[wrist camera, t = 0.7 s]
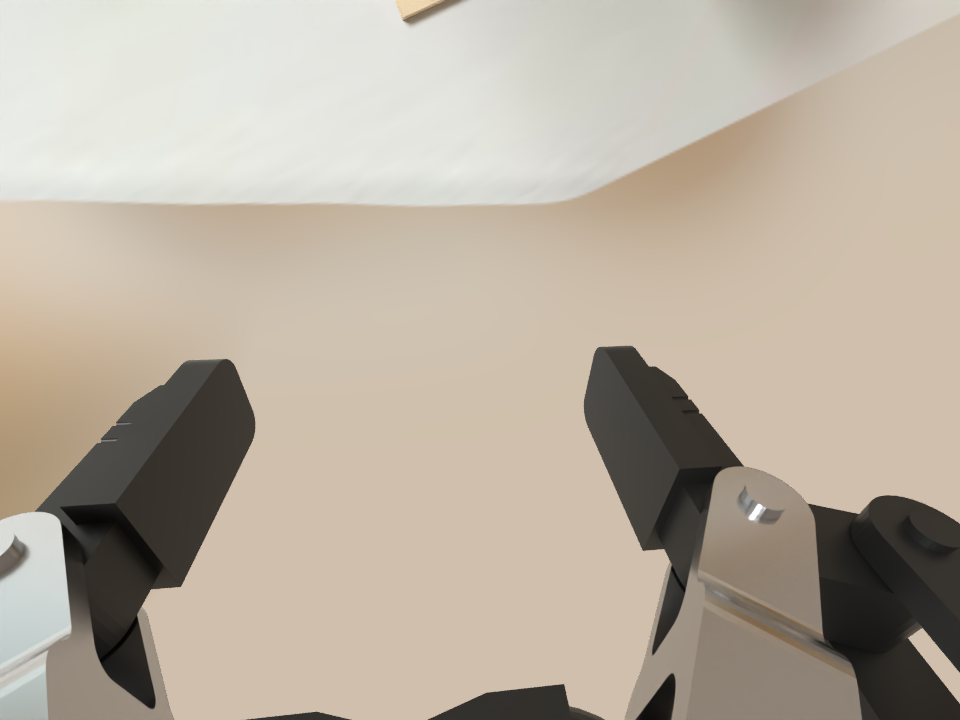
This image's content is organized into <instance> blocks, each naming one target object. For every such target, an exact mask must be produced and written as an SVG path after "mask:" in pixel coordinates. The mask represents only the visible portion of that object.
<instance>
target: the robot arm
mask: <svg viewBox="0 0 960 720" xmlns="http://www.w3.org/2000/svg"><path fill="white" fill-rule="evenodd" d="M584 413H585V419H586V422H587V425H588V428H589V430H590V432H591V434H592V437H593V439H594V441H595V443H596V445H597V448H598V450H599V453H600V455H601V457H602V459H603V462H604V464H605V466H606V468H607V470H608V473H609V475H610V477H611V480H612V482H613V484H614V486H615V489H616V491H617V493H618V495H619V498H620V500H621V502H622V504H623V507H624V509H625V511H626V513H627V516H628V518H629V520H630V523H631V525H632V527H633V529H634V531H635V534H636V536H637V538H638V541H639V543H640V545H641V547H642V550H643V551H645V550H657V549H665V551H666V553H667V555H668V557H669V560H670V563H669V565H668V568H667V570H666V574H665V578H664V582H663V586H662V590H661V594H660V598H659V602H658V606H657V610H656V614H655V619H654V623H653V627H652V631H651V636H650V639H649V644H648V647H647V651H646V655H645V659H644V663H643V666H642V669H641V672H640V675H639V677H638V680H637V682H636V685H635V688H634V690H633V693H632V696H631V699H630V702H629V705H628V709H627V712H626V716H625V720H960V704H959V702H958V701H957V700H956V699H955V697H954V696H953V695H952V694H951V692H950V691H949V690H948V688H947V687H946V686H945V685H944V683H943V682H942V681H941V680H940V678H939V677H938V676H937V675H936V674H935V672H934V671H933V670H932V668H931V667H930V666H929V664H928V663H927V662H926V661H925V659H924V658H923V657H922V656H921V655H920V653H919V652H918V651H917V649H916V648H915V647H914V645H913V644H912V643H911V642H910V641H909V639H908V637H910V636H911V635H913V634H914V633H915V632H917V631H918V630H920V629H921V628H923V629H924V630H925V631H926V632H927V633H928V635H929V636H930V637H931V638H932V640H933V641H934V642H935V643H936V644H937V646H938V647H939V648H940V649H941V650H942V652H943V653H944V654H945V655H946V657H947V658H948V659H949V660H950V661H951V662H952V664H953V665H954V666H955V667H956V668H957V670H958V671H959V672H960V524H959V523H958V522H956V521H955V520H954V519H952V518H950V517H948V516H947V515H945V514H944V513H942V512H940V511H938V510H936V509H934V508H932V507H930V506H928V505H925V504H923V503H920V502H918V501H915V500H912V499H908V498H905V497H899V496H889V495H888V496H880V497H877V498H875V499H873V500H872V501H871V502H870V503H869V504H868V505H867V506H866V508H864V510H863V511H862V512H861V513H860V514H856V513H851V512H846V511H841V510H836V509H831V508H826V507H821V506H816V505H812V504H807V503H806V501H805V500H804V499H803V498H802V496H801V495H799V494H798V493H797V492H796V491H795V490H794V489H793V488H792V487H790V486H789V485H788V484H786V483H785V482H783V481H782V480H780V479H778V478H776V477H775V476H773V475H770V474H768V473H766V472H764V471H760V470H757V469H754V468H749V467H744V466H743V465H742V463H741V462H740V461H739V460H738V458H737V457H736V456H735V455H734V453H733V452H732V451H731V450H730V448H729V447H728V446H727V444H726V443H725V442H724V441H723V439H722V438H721V437H720V436H719V434H718V433H717V432H716V431H715V430H714V428H713V427H712V426H711V424H710V423H709V422H708V421H707V419H706V418H705V417H704V416H703V415H702V414H699V410H698V408H697V407H696V406H695V404H694V403H693V402H692V401H691V400H688V396H687V394H686V393H685V392H684V390H683V389H682V388H681V387H680V385H679V384H678V383H677V382H676V380H674V379H673V378H672V377H670V376H669V375H667V374H666V373H664V372H663V371H661V370H660V369H658V368H657V367H649V366H648V365H647V364H646V362H645V361H644V360H643V358H642V357H641V356H640V354H639V353H638V352H637V350H636V349H635V348H634V347H633V346H615V347H599V348H597V350H596V351H595V354H594V358H593V363H592V367H591V371H590V376H589V381H588V385H587V390H586V394H585V399H584ZM116 423H117V425H116V426H112V427H111V428H110V430H109V431H108V432H107V433H106V434H105V435H104V436H103V437H102V438H101V443H97V444H96V445H95V446H94V447H93V448H92V449H91V451H90V452H89V453H88V454H87V455H86V456H85V457H84V458H83V459H82V461H81V462H80V463H79V464H78V465H77V466H76V467H75V468H74V469H73V470H72V471H71V473H70V474H69V475H68V476H67V477H66V478H65V479H64V480H63V481H62V482H61V484H60V485H59V486H58V487H57V488H56V489H55V490H54V491H53V492H52V493H51V495H50V496H49V497H48V498H47V499H46V500H45V501H44V502H43V503H42V504H41V506H40V507H39V508H38V509H37V510H36V511H35V512H29V513H23V514H18V515H15V516H11V517H8V518H5V519H2V520H0V720H174V718H173V715H172V713H171V710H170V706H169V702H168V698H167V694H166V690H165V686H164V682H163V677H162V674H161V669H160V665H159V661H158V657H157V653H156V649H155V644H154V640H153V636H152V632H151V628H150V624H149V620H148V616H147V613H146V612H145V610H144V609H143V608H142V607H141V606H142V605H143V603H144V601H145V599H146V597H147V595H148V594H149V592H150V590H151V589H160V588H172V587H181V585H182V584H183V582H184V580H185V577H186V575H187V573H188V571H189V569H190V567H191V565H192V563H193V561H194V559H195V557H196V555H197V553H198V551H199V549H200V547H201V545H202V543H203V541H204V539H205V537H206V535H207V533H208V530H209V528H210V526H211V524H212V522H213V520H214V518H215V516H216V514H217V512H218V510H219V508H220V506H221V504H222V502H223V500H224V498H225V496H226V494H227V492H228V490H229V488H230V486H231V484H232V482H233V480H234V478H235V476H236V473H237V471H238V469H239V467H240V465H241V463H242V461H243V459H244V457H245V455H246V453H247V451H248V449H249V447H250V445H251V443H252V441H253V438H254V433H255V417H254V413H253V410H252V408H251V405H250V403H249V400H248V398H247V395H246V392H245V390H244V387H243V385H242V382H241V380H240V377H239V375H238V372H237V370H236V368H235V366H234V364H233V363H232V362H231V361H230V360H228V359H217V360H189V361H186V362H185V363H183V364H182V365H181V366H180V367H179V369H178V370H177V371H176V372H175V373H174V374H173V375H172V377H171V378H170V379H169V380H168V381H167V382H166V384H165V385H161V386H158V387H157V388H155V389H154V390H152V391H151V392H149V393H148V394H146V395H145V396H144V397H142V398H140V399H139V400H137V401H136V402H134V403H133V404H132V405H131V407H130V408H129V409H128V410H127V411H126V412H125V413H124V414H123V415H122V416H121V417H120V419H119V420H118V421H117V422H116ZM248 720H349V719H345V718H341V717H336V716H332V715H328V714H324V713H320V712H311V713H302V714H294V715H284V716H275V717H266V718H257V719H248ZM428 720H604V719H603V718H601V717H599V716H597V715H594V714H591V713H589V712H586V711H584V710H581V709H578V708H574V707H570V706H569V705H568V700H567V696H566V691H565V686H564V684H562V685H552V686H544V687H534V688H525V689H517V690H507V691H499V692H490V693H485V694H483V695H481V696H478V697H476V698H474V699H472V700H470V701H468V702H465V703H463V704H461V705H459V706H457V707H454V708H453V709H450V710H448V711H446V712H444V713H441V714H439V715H437V716H435V717H433V718H431V719H428Z"/></svg>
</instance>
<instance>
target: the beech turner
mask: <svg viewBox="0 0 960 720" xmlns="http://www.w3.org/2000/svg"><path fill="white" fill-rule="evenodd" d="M444 1H446V0H395V2H396V4H397V7H398V9H399V12H400V15H401V17H402V20H405V19H407V18H409V17H412V16H414V15H416V14H418V13H420V12H422V11H424V10H427V9H429V8H431V7H433V6H435V5H437V4H439V3H442V2H444Z"/></svg>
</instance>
